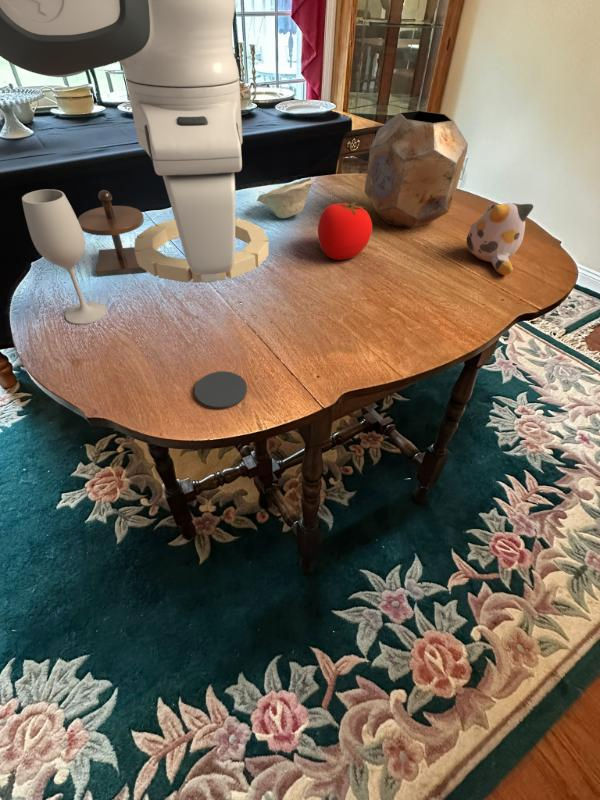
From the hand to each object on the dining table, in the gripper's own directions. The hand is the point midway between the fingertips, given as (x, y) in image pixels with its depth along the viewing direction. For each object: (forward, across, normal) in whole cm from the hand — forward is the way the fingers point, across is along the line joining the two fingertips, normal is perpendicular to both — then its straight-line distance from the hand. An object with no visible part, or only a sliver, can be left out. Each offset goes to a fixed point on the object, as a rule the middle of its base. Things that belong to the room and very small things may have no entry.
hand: (207, 271), depth 46 cm
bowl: (+24, -72, +25) cm, 79 cm away
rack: (+24, -52, -16) cm, 59 cm away
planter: (+24, -64, +57) cm, 89 cm away
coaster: (+24, -6, 0) cm, 24 cm away
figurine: (+24, -36, +67) cm, 80 cm away
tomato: (+24, -48, +33) cm, 63 cm away
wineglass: (+24, -33, -22) cm, 46 cm away
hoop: (+1, -6, 0) cm, 7 cm away
